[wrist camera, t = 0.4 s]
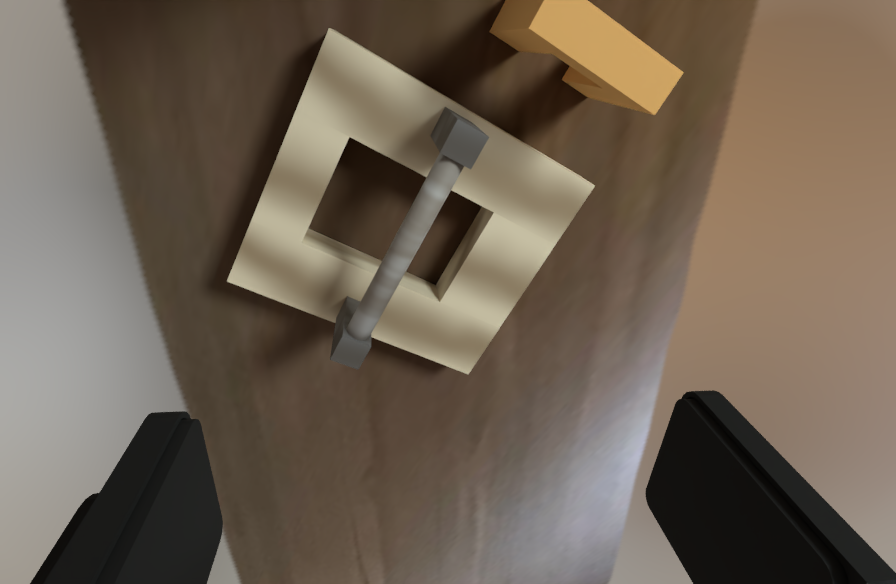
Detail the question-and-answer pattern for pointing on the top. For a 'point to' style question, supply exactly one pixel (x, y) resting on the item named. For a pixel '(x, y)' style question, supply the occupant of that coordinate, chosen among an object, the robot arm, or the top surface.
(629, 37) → the tan wooden block
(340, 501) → the top surface
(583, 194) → the square frame with handle
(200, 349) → the top surface
